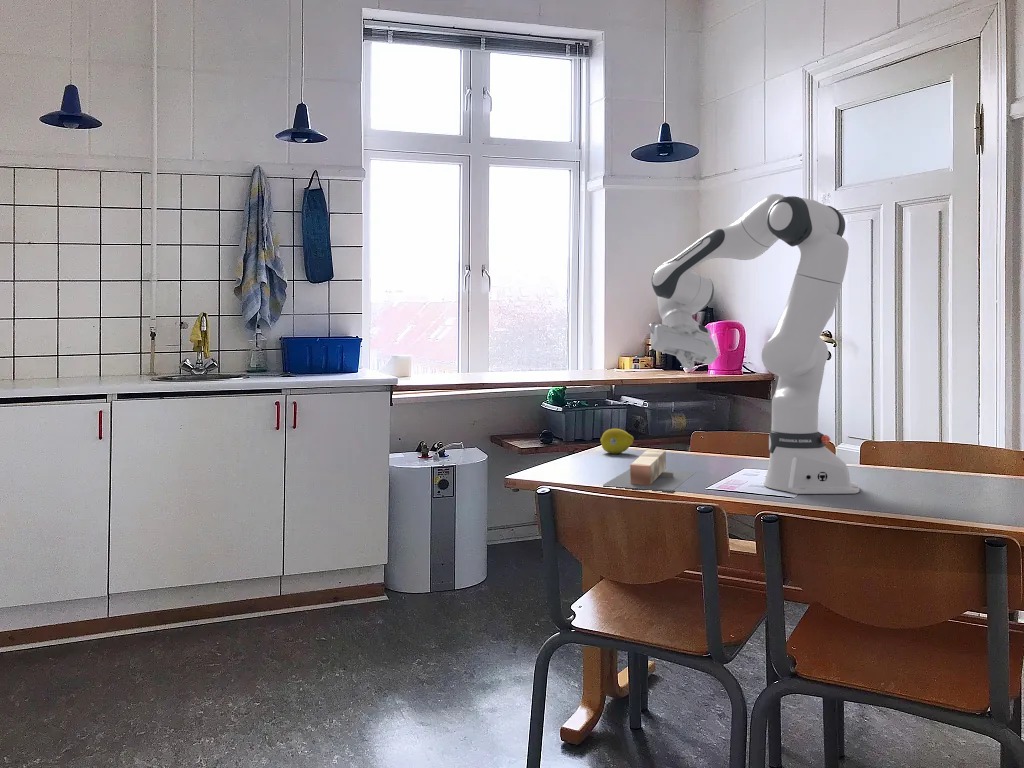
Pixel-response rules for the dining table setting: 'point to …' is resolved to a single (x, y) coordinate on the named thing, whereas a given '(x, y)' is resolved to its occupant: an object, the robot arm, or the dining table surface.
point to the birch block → (648, 467)
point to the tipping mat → (663, 482)
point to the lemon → (616, 441)
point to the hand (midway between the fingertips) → (688, 367)
